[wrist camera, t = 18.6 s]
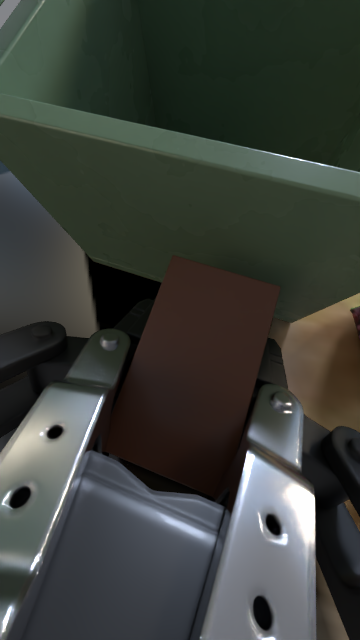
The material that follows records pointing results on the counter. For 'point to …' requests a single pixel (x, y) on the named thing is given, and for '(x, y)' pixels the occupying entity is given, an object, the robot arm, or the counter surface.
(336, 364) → the counter surface
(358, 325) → the snack box
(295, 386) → the counter surface
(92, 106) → the bin
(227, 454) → the chocolate
